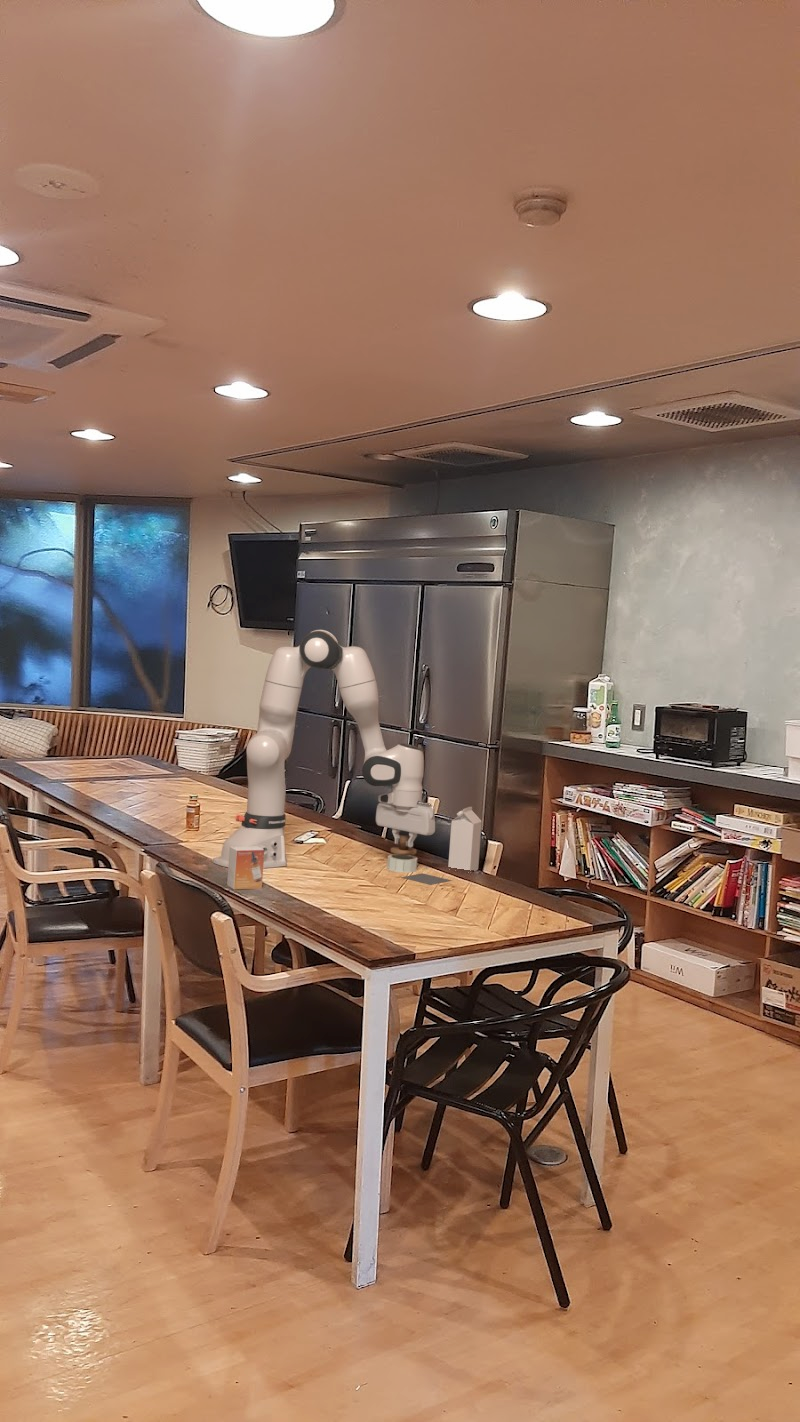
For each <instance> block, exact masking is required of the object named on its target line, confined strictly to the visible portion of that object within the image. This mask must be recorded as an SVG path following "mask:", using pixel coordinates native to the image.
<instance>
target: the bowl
mask: <svg viewBox="0 0 800 1422" xmlns="http://www.w3.org/2000/svg"><path fill="white" fill-rule="evenodd" d="M386 862H387V863H386V870H388V871H389V872H390V871H391V872H395V873H401V874H403V873H406V874H409V873H416V872H417V870H418V857H417V856H415V855H398V854H393V853H392V854H389V855H387V861H386Z"/></svg>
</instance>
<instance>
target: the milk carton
mask: <svg viewBox="0 0 800 1422" xmlns="http://www.w3.org/2000/svg"><path fill="white" fill-rule="evenodd" d="M482 822H483V821H482V820H481V818H479V816H478V815H477V814H476V813H475V812H474V811H473V806H468V807H465V808H463V809H462V810H460V811H458V812H457V813H456V817H455V818H454V819H452V820H451V824H450V825H451V826H450V836H449V837H450V839H449V852H448V863H447V864H448V865H447V866H448V867H451V868H457V869H464V870H470V871H471V870H474V872H476V871H478V870H479V864H480V863H479V861H480V850H481V837H482V834H481V833H482ZM448 867H447V868H448Z"/></svg>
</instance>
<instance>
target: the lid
mask: <svg viewBox="0 0 800 1422" xmlns="http://www.w3.org/2000/svg"><path fill="white" fill-rule="evenodd" d="M399 835H400V840H399V845H398V846H393V847H390V853H391V854H392V855H393V854H398V855H411V856H415V855H416V854H417V849H416V848H414V847H406V841H408V840H409V838H410V836H409V834H408V835H406V834H399Z"/></svg>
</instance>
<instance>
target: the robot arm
mask: <svg viewBox="0 0 800 1422" xmlns="http://www.w3.org/2000/svg"><path fill="white" fill-rule="evenodd" d="M311 668H313V669H320V670H321V669H324V670H325V669H326V670H332V672H333V673H334V675H335V678H336V680H337V684H338V688H339V689H338V690H339V694H340V696H341V698H342V699H341V700H342V701H343V705H344V706H345V708H346V710H347V712H348V713H349V714H350V715H351V717H353V719H354V720H355V723H356V724H357V727H358V730H359V733H360V739H361V741H362V745H363V750H364V757H363V763H362V768H361V774H362V777H363V779H364V781H365V782H366V783H367V784H368V785H370V786H372V787H378V788H380V787H385V786H392V788H391V789H392V791H390V792H386V793H382V794H378V796H377V797H378V798H377V801H378V802H379V803H378V804H377V805H376V811H375V823H376V825H377V826H378V827H384V828H389V829H391V830H392V831H391V832H392V835H393V837H394V844H395V845H398V846H399V840H400V835H401V834H400V833H401V832H402V831H403V832H408V836H409V840H408V841H406V847H409V848H414V842H415V840H416V838H417V837H418V835H422V836H431V835H433V834H434V833H435V832H436V821H435V820H436V818H435V811H436V809H435V808H434V806H433V805H432V804H431V803H429V802H423V786H422V785H423V783H422V781H423V778H424V770H425V769H424V768H425V765H424V764H425V762H424V761H425V760H424V759H425V757H424V753H423V751H422V750H421V748H419V747H418V746H417V745H416V746H415V745H413V744H409V743H398V744H396V745H395V746H393V747H391V748H390V749H387V747H386V744H385V741H384V737H383V734H382V730H381V729H382V728H381V725H380V722H379V721H380V720H379V704H380V703H379V702H380V700H379V689H378V688H379V687H378V683H377V680H376V676H375V672H374V669H373V666H372V663H371V660H370V659H369V656H368V654H367V652H366V650H365V649H363V647H360V646H357V645H356V646H355V645H351V646H342V645H340V642H339V640H338V639H337V636H335V634H333V633H331V632H329V631H328V630H325V629H316V630H313V631H310V632H308V633H307V634H305V635H304V637H302V639H301V641H300V644H299V645H298V646H289V645H288V646H280V647H278V648H276V650H275V651H273V654H272V656H271V660H270V662H269V664H268V667H267V671H266V673H265V674H266V675H265V679H264V682H263V687H262V692H261V698H260V702H259V706H258V707H259V710H258V711H259V712H258V722H257V729H256V730H257V731H256V733H255V734H253V735H252V736H251V737H250V738H249V740H248V742H247V746H246V770H247V771H246V772H247V789H248V790H247V801H246V802H247V803H246V812H244V815H241V814H236V815H235V817H234V819H235V822H240V823H241V825H240V827H238V829H237V830H235V831H234V832H233V833H232V834H231V835H230V836H229V837H227V838H226V839H225V840H224V842H223V843H222V848H221V854H220V856H216V857H213V858H212V863H214V864H215V865H217V866H222V867H224V868H228V865H229V849H230V847H247V846H258V847H260V848H262V849H264V864H263V869H267V868H278V867H286V866H287V863H288V858H287V853H286V845H285V844H286V843H285V831H284V830H285V826H286V813H285V811H286V810H285V809H286V793H287V792H286V791H287V790H286V789H287V786H286V775H285V774H286V773H285V761H286V760H287V759H288V758H289V757H290V755H291V752H292V746H293V742H294V735H295V727H296V718H297V713H298V707H299V703H300V700H301V699H300V698H301V694H302V689H303V685H304V680H305V677H306V673H307V672H308V671H309V669H311Z"/></svg>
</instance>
